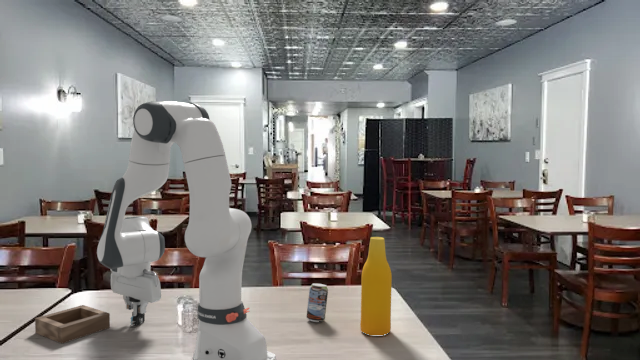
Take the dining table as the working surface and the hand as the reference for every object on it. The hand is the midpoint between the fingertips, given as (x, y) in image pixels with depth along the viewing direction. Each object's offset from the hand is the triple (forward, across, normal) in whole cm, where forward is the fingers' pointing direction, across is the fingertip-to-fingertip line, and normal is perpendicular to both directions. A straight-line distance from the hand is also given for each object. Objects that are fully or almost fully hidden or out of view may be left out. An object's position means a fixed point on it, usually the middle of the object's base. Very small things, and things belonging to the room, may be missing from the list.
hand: (135, 311), depth 153 cm
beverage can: (+4, -45, -35) cm, 57 cm away
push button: (+4, 0, 0) cm, 4 cm away
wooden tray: (+4, +11, +14) cm, 18 cm away
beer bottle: (+4, -65, -37) cm, 75 cm away
